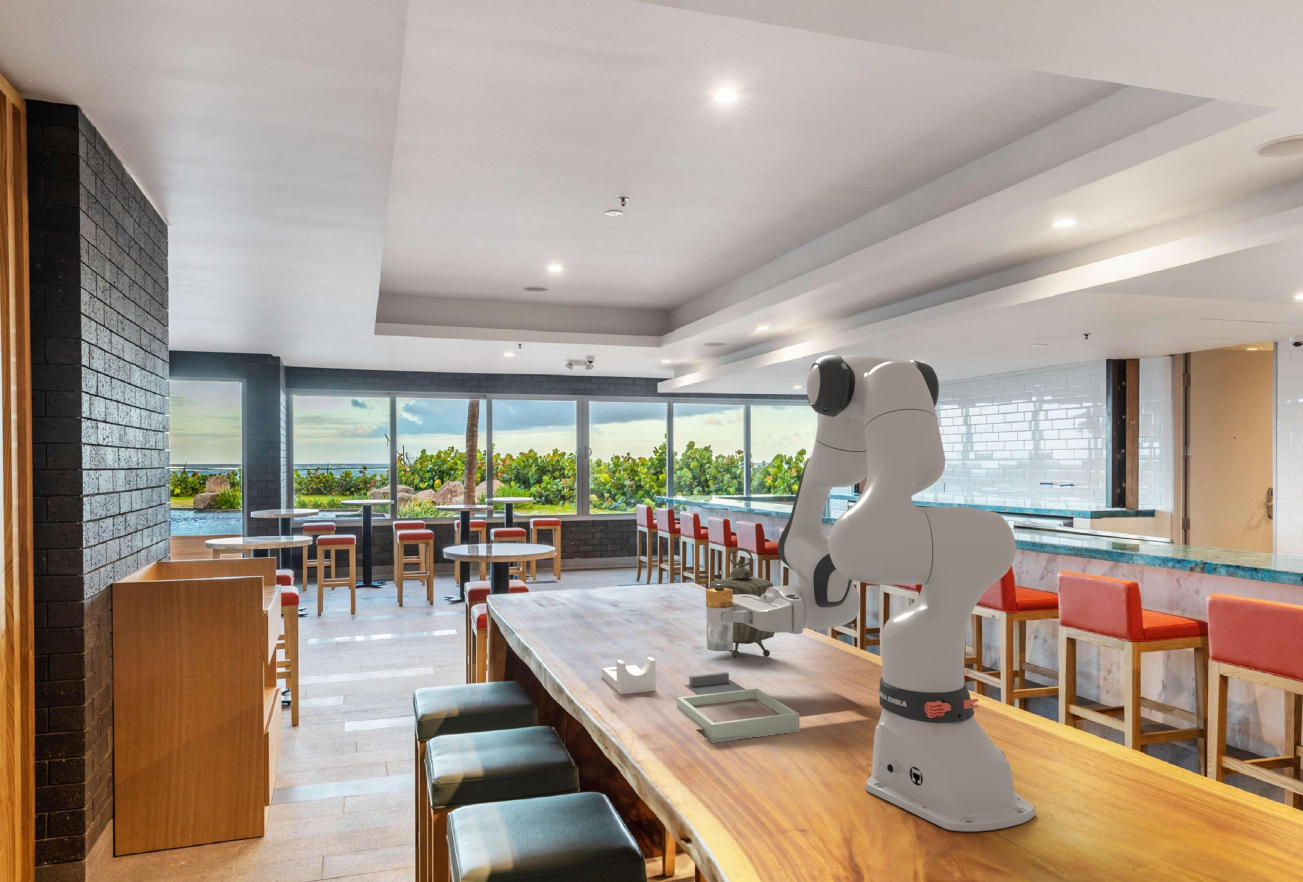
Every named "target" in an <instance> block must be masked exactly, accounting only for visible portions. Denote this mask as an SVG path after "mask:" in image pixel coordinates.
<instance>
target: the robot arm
mask: <svg viewBox="0 0 1303 882" xmlns="http://www.w3.org/2000/svg"><path fill="white" fill-rule="evenodd" d="M939 386H940V384H939V379H938V375H937V373H936V371H935V370H934V368H933V367H932V366H931V365H929V364H927V363H925V362H922V361H917V360H913V359H909V360H905V359H899V358H893V357H884V356H877V355H875V354H874V355H870V354H868V355H867V354H853V355H852V354H851V355H850V354H849V355H840V354H839V353H837V354H829V355H824V356H823V355H822V356H821V357H818V358H817V359H816V361H814V363H813V364H812V365H811V367H810V368H809V373H808V376H807V379H806V394H807V401H808V404H809V405H810V407H811V408H812V409H813V411H814V412H815V413H817V414H820V415H819V416H820V417H819V420H818V425H817V429H816V435H815V441H814V445H813V449H812V450H813V451H812V454H811V456H810V457H809V458H808V459H807V461H806V462H805V465H804V467H803V469H802V472H801V476H800V479H799V482H798V485H797V489H796V494H795V498H794V501H793V506H792V509H791V512H790V516H789V519H788V521H787V523H786V526H785V527H784V529H783V531H782V533H781V535H780V536H779V539H778V543H777V553H778V556H779V558H780V560H781V561H782V562H783V563H784V564H785V565H786V566H788V568H789V569H791V570H792V571H794V572H795V573H796V575H798V577H799V582H798V583H797V584H792V585H779V586H778V585H776V586H774V587H769V588H768V589H767V590H766V592H765V594H762V595H761V596H760V597H758V596H755V595H749V594H737V595H733V612H731V611H723V612H721V620H722V621H724V622H738V623H744V624H747V625H749V626H751V627H754V628H756V629H758V630H761V631H767V632H774V633H775V634H778V633H789V634H793V635H800V634H803V632H804V629H812V630H823V629H832V628H837V627H841V626H845V625H847V624H849V623H851V622H852V621H854V620H855V619H856V618H857V616H858V614H859V612H860V608H861V598H860V594H859V592H858V590H857V589H856V586H855V585H854V584H855V583H854V582H855V581H856V582H860V583H866V584H870V585H871V584H872V585H877V586H883V585H884V586H886V585H890V586H891V585H895V586H896V585H921V589H920V591H919V592H920V593H919V594H918V596H917V598H916V599H915V601H913V602H912V603H911V604H910V605H909V606H907V607H905V608H903V609H901V610H900V609H899V610H898V611H897V612H896V613H893V614H892V615H891V616H890V617H889V618H888V620H886V622H885V623H884V626H883V628H882V631H881V650H882V651H881V655H882V658H881V660H882V664H881V667H882V668H881V669H882V670H881V671H882V677H880V679H879V686H878V697H879V698H878V699H879V705H880V707H881V713H880V717H879V720H878V722H877V725H875V729H874V737H873V747H872V749H873V751H872V763H871V776H870V777H868V779H866V781H865V788H864V789H865V790H866V791H867V792H869V793H870V794H872V795H875V796H877V797H879V798H881V799H882V800H885V801H887V802H889V803H891V804H893V805H896V806H898V807H900V808H902V809H903V810H906V811H908V812H911V813H912V814H914V815H917V816H918V817H920V818H922V819H924V820H926V821H928V822H931V823H932V824H935V825H937V826H939V827H941V828H943V829H945V830H948V831H955V832H983V831H993V830H999V829H1006V828H1009V827H1013V826H1017V825H1021V824H1024V823H1027V822H1028V821H1030V820H1032V819H1033V818H1034V816H1035V815H1036V809H1035V806H1034V805H1033V804H1032V803H1030V802H1029V801H1027V800H1026V799H1025V798H1024V797H1022V796H1021V795H1019V793H1017V792H1016V791H1015V787H1014V785H1015V784H1014V776H1013V772H1012V767H1011V764H1010V762H1009V761H1008V759H1007V758H1006V753H1005V751H1004V750H1003V749H1002V748H1001V747H997V746H996V744H995V743H994V742H993V740H992V739H991V738H990V737H989V735H988V733H986V731H985V730H984V728H983V727H982V726H981V724H980V723H979V722H978V721H977V720H976V717H975V716H974V715H975V710H974V709H976V708H979V707H980V706H979V704H978V705H977V704H976V705H973V704H975V703H977V702H979V699H978V698H974V699H973V698H971V693H970V691H969V689H968V686H967V684H966V682H965V650H966V649H965V648H966V635H967V629H968V626H969V622H970V619H971V617H972V614H973V612H974V610H975V607H976V605H977V604H978V603H979V601H980V599H981V598H982V597H983V595H984V594H985V593H986V592H987V590H988V589H989V588H991V587H992V586H993V585H994V584H995V583H996V582H997V581H999V580H1001V579H1002V578H1003V577H1004V576H1005V575H1006V574H1007V573H1008V572H1009V570H1010V569H1011V567H1012V566H1013V564H1014V563H1013V562H1014V561H1015V557H1016V548H1017V547H1016V538H1015V535H1014V532H1013V529H1012V528H1011V526H1010V525H1009V523H1008V522H1007V521H1006V520H1005V518H1004V517H1003V516H1002V515H1001V514H1000V513H998V512H996V511H991V510H986V509H981V508H973V507H970V506H969V507H968V506H918V505H917V506H916V505H915V504H914V503H913V499H912V498H913V497H912V496H914V495H916V494H918V493H921V492H923V491H925V490H926V489H928V488H930V487H931V486H932V485H934V484H935V483H937V481H939V479H940V478H941V477H942V475H943V474H944V471H945V467H946V456H945V451H944V446H943V441H942V436H941V430H940V425H939V421H938V415H937V412H936V406H937V403H938V401H939V400H938V399H939V394H940V393H939V392H940V387H939ZM865 479H866V481H865V485H864V487H863V490H862V492H861V493H860V496H859V497H858V499H857V500H856V501H855V502H854V504H853V505H852V506H851V507H850V508H848V509H847V510H846V511H845V512H843V513H842V514H841V515H839V517H838V518H837V519H836V520H835V522H834V523H833V525H832V527H831V529H830V531H829V536H827V534H826V533H825V531H824V528H823V524H822V518H823V515H824V512H825V509H826V506H827V501H828V498H829V494H830V491H831V490H832V489H833V488H847V487H851V486H855V485H857V484H859V483H861V482H862V481H864V480H865Z"/></svg>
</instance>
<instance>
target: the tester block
mask: <svg viewBox="0 0 1303 882" xmlns="http://www.w3.org/2000/svg"><path fill="white" fill-rule="evenodd" d="M729 675H730V674H729V673H728V671H723V672H713V673H712V672H711V673H703V674H693V675H689V676H688V679H689V681H688V684H684V686H685V687H686V688H687V689H689V690H690V691H692V692H693V694H695V695H703V694H712V693H721V692H730V691H739V690H747V689H746V688H744V687H742V686H741V685H739V684H738V683H737V682H735V681H733V680H732V679H730V676H729Z"/></svg>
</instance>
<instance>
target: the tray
mask: <svg viewBox="0 0 1303 882" xmlns="http://www.w3.org/2000/svg"><path fill="white" fill-rule="evenodd" d="M752 699H756V700H757V701H759V702H761V704H764V705H765V706H766V707H768V708H770V709H771V710H773V711H774V712H776V713H778V714H775V715H774V714H773V715H765V716H757V717H749V718H743V719H734V720H727V721H719V722H714V721H713V720H712V719H710V718H709V717H708V716H706V715H705V714H704V713H702V712H701V711H700V710H699V709H697V708H696V707H694V706H701V705H711V704H720V703H728V702H737V701H745V700H752ZM676 707H677V708H679V709H680V710H681V711H683V713H685V714H686V715H687V716H689V717H690V718H691V719H692V720H693V721H695V722H696V723H697V724H698V725H699V726H701V727H702V728H701V729H696V731H697V733H699V734H700V735H701V734H702V735H701V736H702V737H703V738H705V739H706V738H707V739H708V740H709V741H708V740H707V739H706V740H707V741H708V742H709V743H711V744H718V743H717V742H720V743H726V742H725V741H727V742H732V741H731V740H734V741H739V740H738V739H742V740H746V739H745V738H749V739H753V738H752V737H757V738H760V737H759V736H764V737H769V736H768V735H771V736H776V735H775V734H779V735H784V733H786V734H793V732H794V733H798V732H799V731H801V729H800V726H801V724H800V713H799V712H797V711H796V710H794V709H792V708H790V707H789V706H787V705H785V704H784V703H782V702H781V701H779V700H777V699H776V698H774V697H772V696H770V695H769V694H767V693H765V692H764V691H762V690H761V689H759V688H756V687H755V688H748V689H746V690H739V691H730V692H721V693H712V694H703V695H697V694H695V695H688V696H686V695H685V696H680V697H677V698H676ZM799 733H800V732H799ZM766 735H767V736H766Z"/></svg>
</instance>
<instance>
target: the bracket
mask: <svg viewBox="0 0 1303 882" xmlns="http://www.w3.org/2000/svg"><path fill="white" fill-rule="evenodd" d="M645 660H646V661H645V663H644V665H643V666H642V668H639V666H638V665H636V664H633V665H626V662H625V661H623V660H622V659H618V660H616V664H615V665H616V666H611V667H602V668H601V677H602V678H603V679H604V680H605V681H606V683H608V684H609V685H610V686H611V687H612V688H613V689H614V690H615V691H617V693H619V694H620V695H625V694H634V693H636V694H637V693H644V692H645V693H646V692H654V691H656V690H657V689H656V688H657V687H656V681H657V679H656V677H657V676H656V673H657V672H656V659H654V658H653V657H651V656H650V657H646V659H645Z"/></svg>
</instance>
